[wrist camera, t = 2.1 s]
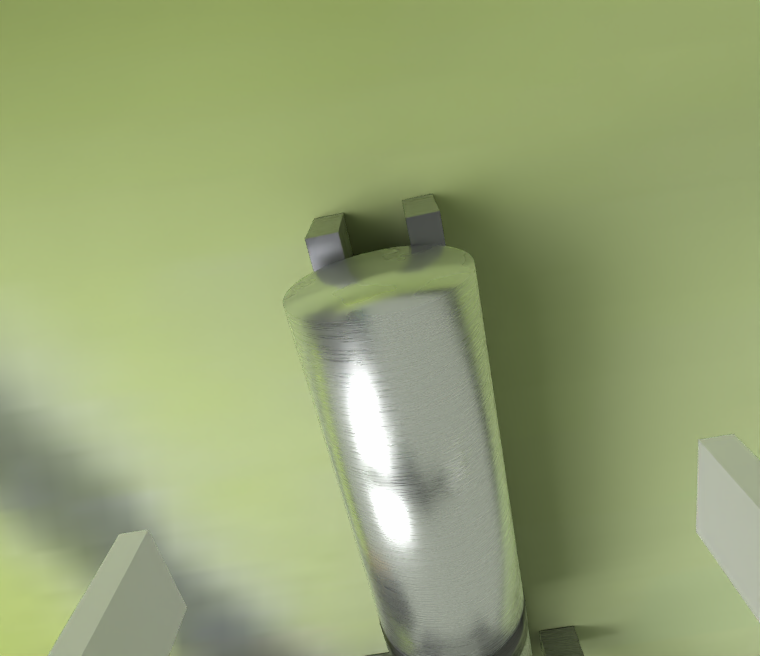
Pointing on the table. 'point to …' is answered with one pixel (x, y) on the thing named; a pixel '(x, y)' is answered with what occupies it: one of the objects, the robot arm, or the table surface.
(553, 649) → the gray metal rack
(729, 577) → the robot arm
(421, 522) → the tube
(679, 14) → the table surface
